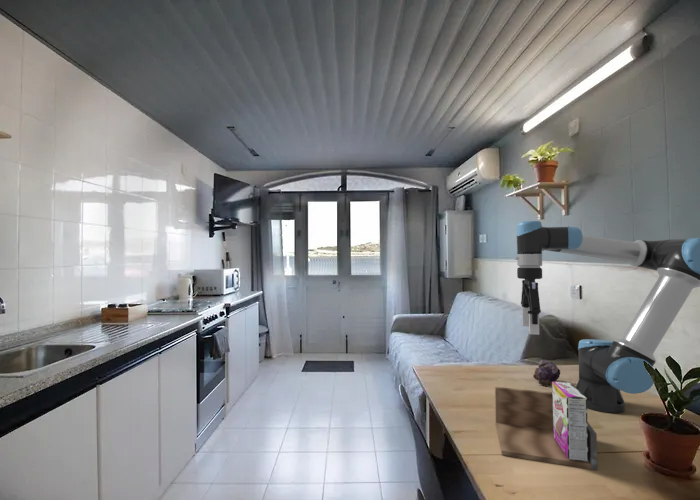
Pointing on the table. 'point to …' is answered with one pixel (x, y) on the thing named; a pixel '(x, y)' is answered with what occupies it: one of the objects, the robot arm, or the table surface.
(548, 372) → the rock
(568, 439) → the candy bar box
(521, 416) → the shelf
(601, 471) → the table surface
